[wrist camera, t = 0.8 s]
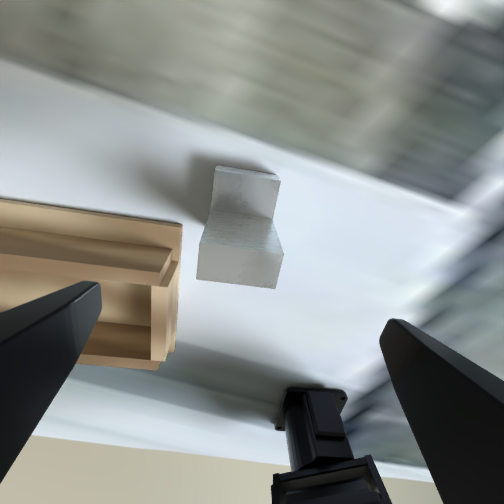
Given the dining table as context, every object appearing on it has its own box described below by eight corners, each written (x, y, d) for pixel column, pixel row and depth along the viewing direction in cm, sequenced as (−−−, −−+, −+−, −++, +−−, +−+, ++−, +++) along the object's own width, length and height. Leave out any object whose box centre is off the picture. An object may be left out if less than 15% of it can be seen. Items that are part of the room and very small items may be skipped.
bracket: (264, 236, 20) (275, 288, 14) (210, 228, 19) (196, 279, 13) (276, 175, 18) (296, 203, 12) (217, 164, 18) (204, 189, 11)
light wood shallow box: (175, 347, 24) (163, 386, 21) (-4, 330, 23) (-50, 370, 19) (182, 224, 19) (169, 248, 16) (-48, 191, 18) (-122, 209, 14)
